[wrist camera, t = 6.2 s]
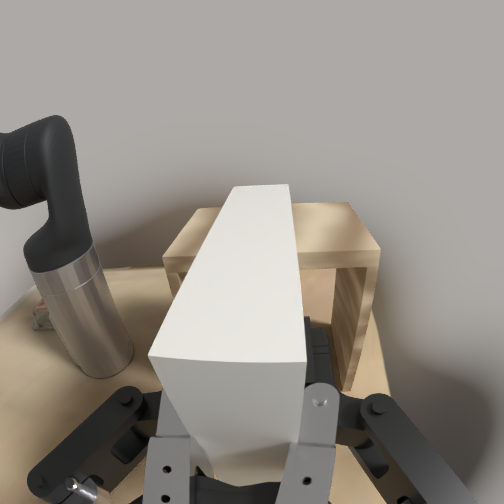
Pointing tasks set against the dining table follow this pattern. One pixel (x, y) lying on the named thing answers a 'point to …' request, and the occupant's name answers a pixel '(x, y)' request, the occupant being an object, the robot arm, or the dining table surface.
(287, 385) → the white box
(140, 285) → the dining table surface
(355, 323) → the wooden arch
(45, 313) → the packaged product
